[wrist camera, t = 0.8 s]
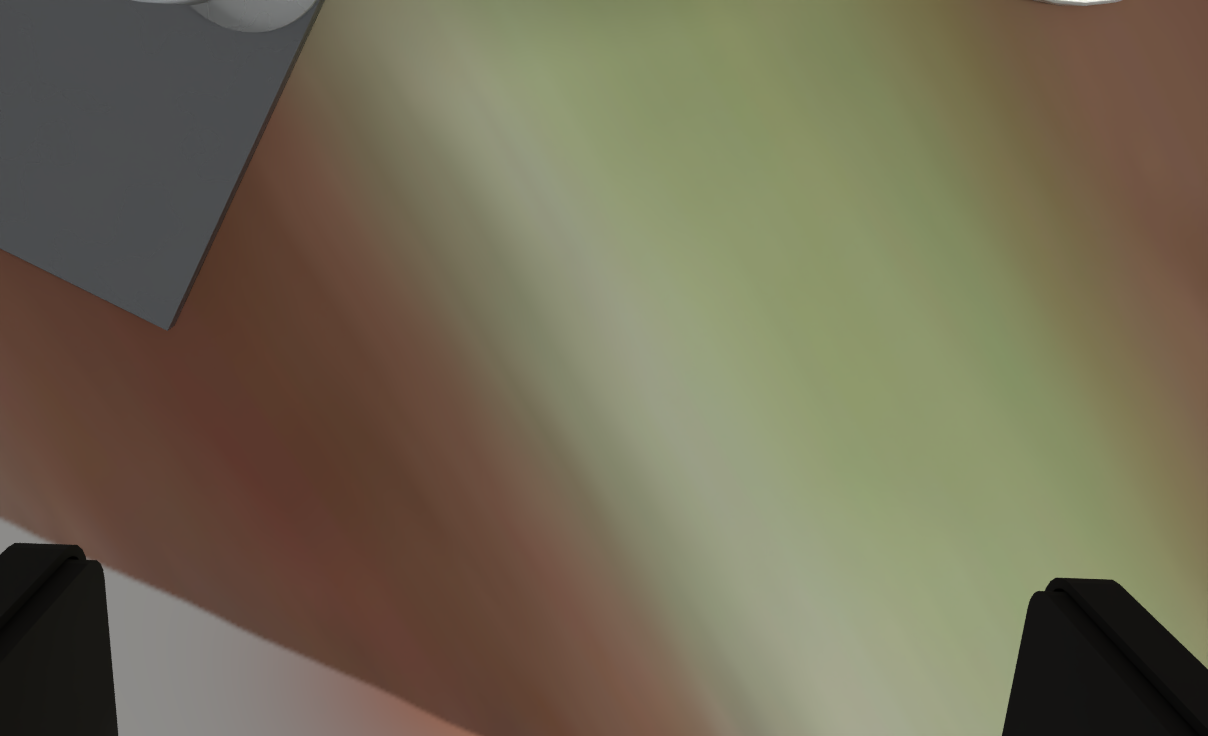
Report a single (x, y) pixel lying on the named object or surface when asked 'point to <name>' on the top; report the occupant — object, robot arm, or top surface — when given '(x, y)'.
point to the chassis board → (129, 139)
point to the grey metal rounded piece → (254, 13)
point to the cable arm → (175, 1)
